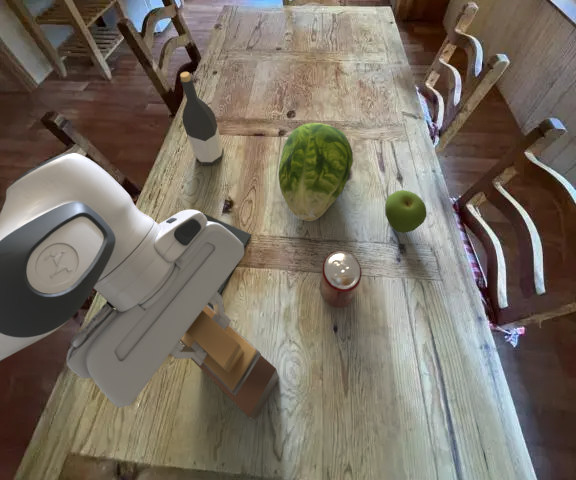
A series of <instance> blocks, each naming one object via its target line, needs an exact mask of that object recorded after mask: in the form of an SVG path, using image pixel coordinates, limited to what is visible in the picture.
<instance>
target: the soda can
mask: <svg viewBox="0 0 576 480" xmlns="http://www.w3.org/2000/svg"><path fill="white" fill-rule="evenodd" d="M321 268H322V269H321V276H320V277H321V278H320V285H319V290H320V295H321V297H322V299H323V301H325V303H326V304H327V305H328V306H330V307H331V308H334V309H345V308H347V307H348V306H350V305H351V304H352V302H353V301H354V299H355V297H356V294H357V291H358V288H359V286H360V283H361V280H362V274H363V272H362V266H361V264H360V261H359V260H358V259H357V257H356V256H355V255H354V254H353V253H350V252H349V251H346V250H343V249H342V250H339V249H338V250H334V251H332V252H330V253H329V254H327V255H326V257H325V258H324V259H323V263H322V267H321Z"/></svg>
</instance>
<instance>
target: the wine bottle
mask: <svg viewBox="0 0 576 480" xmlns="http://www.w3.org/2000/svg"><path fill="white" fill-rule="evenodd" d="M179 77H180V83H181V85H182V89H183V92H184V94H185V95H184V96H185V98H186V102H185V104H184V108H183V112H182V125H183V127H184V131H185V133H186V136H187V138H188V141H189V144H190V146H191V149H192V153H193V155H194V157H195V159H196V160H197V161H198V162H199V164H200V165H202V166H214V165H215V164H216V163H218V162H220V161H221V160H222V159H223V155H224V145H223V142H222V138H221V133H220V130H219V126H218V122H217V118H216V114H215V113H214V111H213V110H212V107H210V106H209V105H208V104H207V103H206V102H205V101H204V100H203V99H201V98H200V97H198V94H197V91H196V88H195V87H196V86H195V84H194V81H193V77H192V76H191V74H190V72H188V71H183V72H181V73H180V75H179Z"/></svg>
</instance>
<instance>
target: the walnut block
mask: <svg viewBox="0 0 576 480" xmlns="http://www.w3.org/2000/svg"><path fill="white" fill-rule="evenodd" d="M190 360H191V361H193V362H194V363H195V365H196V366H197V367H198V368H199V369H200V370H202V372H203V373H204V374H205V375H206V376H207V377H208V378H209V379H210V380H211V381H212V382H213V383H214V384H215V385H216V386H217V388H219V389H220V390H221V391H222V392H223V393H224V394H225V395H226V396H227V397H228V398H229V399H230V400H231V401H232V402H233V403H234V404H235V405H236V406H237V407H238V409H240V410H241V411H242V412H243V413H244V414H245V416H247V417H248V418H249V419H252V420H253V421H256V422H257V420H258V419H259V416H260V414H261V413H262V411H263V409H264V407H265V405H266V403H268V400H269V398H270V396H271V395H272V393H273V391H274V389H275V387H276V386H277V384H278V382H279V380H280V375H279V373H278V369H277V368H276V367H275V365H273V364H272V363H270V361H268V359H266V358H265V357H264V356H263V355H262V354H261V355H260V357H259V359H258V360H257V362H256V364H255V365H254V367H253V369H252V370H251V372H250V374H249V375H248V377H247V379H246V380H245V382H244V383H243V385H242V387H241V388H240V390H239V392H238V393H237V395H236V396H235V395H233V394H232V393H231V392H230V391H229V390H228V389H227V388H226V387H225V386H224V385H223V384H222V383H221V382H220V381H219V380H218V379H217V378H216V377H215V376H214V375H213V374H212V373H211V372H210V371H209V370H208V369H207V368H206V367H205V366H204V365H203V364H201V366H200V365H199V364H198V363H197V362H196V361H195V360H194V359H193V358H191V359H190Z"/></svg>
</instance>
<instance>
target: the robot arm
mask: <svg viewBox="0 0 576 480" xmlns="http://www.w3.org/2000/svg"><path fill="white" fill-rule="evenodd" d="M203 213H204V212H202V213H201V211H200V210H198V209H195V210H194V209H183V210H181V211H179V212H177V213H175V214H173V215H171V216H169V217H168V218H167V219H165V220H163V221H161V222H159V223H157V222H156V221H155V219H153V218H152V217H151V216H149V215H148V214H145V213H143V212H142V211H141V210H140V209H139V208H138V207H137V205H135V203H134V201H133V199H132V196H131V195H130V194H129V193H128V192H127V190H125V188H124V187H123V185H121V184H119V182H118V181H117V180H115V178H113V177H112V176H111V174H109V172H107V171H106V170H105V169H104V168H102V167H101V166H100V165H99V164H98V163H96V162H95V161H93V160H91V159H90V158H89V157H86V156H84V155H82V154H80V153H76V152H71V153H63V154H59V155H57V156H54V157H52V158H50V159H48V160H46V161H43V162H42V163H39V165H36V166H35V167H34V168H32V169H29V170H28V171H26V172H25V173H23V174H22V175H20V176H19V177H18V178H16V179H15V180H14V181H13V182H12V183H11V184H10V185H9V186H8V187H7V189H6V190H5V200H4V204H3V205H2V209H1V211H0V362H2V361H3V360H5V359H6V358H8V357H10V356H12V355H13V354H14V355H15V353H16V354H17V353H18V352H20V351H21V350H23V349H25V348H27V347H29V346H31V345H33V344H35V343H37V342H39V341H41V340H42V339H44V338H45V337H48V336H49V335H51V334H53V333H54V332H56V331H57V330H59V329H60V328H61V327H64V325H65V324H67V323H68V322H69V321H70V320H71V319H72V318H73V317H74V316H75V315H76V314H77V313H78V312H79V311H80V309H81V308H82V307H83V305H84V304H85V302H86V301H87V300H88V298H89V296H90V295H91V294H92V291H93V290H95V292H97V293H98V294H99V295H100V296H101V297H102V298H103V299H104V300H105V301H106V302H105V303H104V304H103V305H102V306H101V307H100V308H99V310H98V311H97V312H96V313H95V314H94V315H93V316H92V317H91V319H90V320H89V321H88V323H87V324H86V325H85V326H84V327H83V328H81V329H80V330H79V331H78V332H77V333H76V334H75V335H74V337H72V339H71V341H70V343H71V345H70V347H69V349H68V351H67V353H66V364H67V365H66V366H67V368H69V369H68V370H70V371H72V372H73V373H74V374H75V375H76V376H78V377H79V378H81V379H91V378H92V380H93V381H94V383H95V384H96V386H97V388H98V389H99V390H100V391H101V393H102V394H103V395H104V396H105V397H106V398H107V399H108V401H110V403H112V405H114V406H115V407H116V408H118V409H119V408H125V407H128V406H131V405H132V404H133V403H134V402H135V401H136V399H137V398H138V397H139V395H140V394H141V392H142V391H143V390H144V388H145V387H146V386H147V384H148V383H149V382H150V381H151V379H152V378H153V376H154V375H155V374H156V372H157V371H158V370H159V369H160V367H161V366H162V365H163V363H164V362H165V361H166V359H167V358H168V356H169V355H171V356H172V357H173V358H174V359H178V360H179V359H180V360H181V359H182V360H185V359H186V360H188V359H189V360H192V359H191V358H193V359H194V360H195V361H196V362H197V363H198V364H199V365H200V366H201V364H202V363H203V361H204V360H205V359H206V357H207V356H208V353H207V352H206V351H205V350H204V349H203V348H202V347H201V346H200V345H199V344H198V343H197V342H196V341H195V342H194V343H193V345H192V346H191V347H188V346H185V345H184V344H183V343H182V342H181V341H180V339H181V338H182V337H183V335H184V334H185V333H186V331H187V330H188V329H189V327H190V326H191V325H192V323H193V322H194V321H195V320H196V318H197V317H198V316H199V314H200V313H201V312H202V310H203V309H204V308H205V306H206V305H207V304H208V302H209V303H210V304H212V305H213V308H214V309H213V310H214V312H215V314H214V316H213V317H212V319H213V320H214V321H215V322H216V323H217V324H218V325H219V326H221V327H222V328H223V329H224V330H225V329H226V328H227V327H228V325H229V324H230V325H231V323H232V319H231V318H230V317H229V316H228V315H227V314H226V313H225V307H224V301H223V296H222V294H221V295H220V294H219V293H218V292H217V290H218V289H219V288H220V286H221V285H222V284H223V282H224V281H225V280H226V278H227V277H228V276H229V275H230V273H231V272H232V271H233V272H234V270H235V269H236V267H237V265H238V264H239V263H240V262H241V260H242V259H243V257H244V256H245V249H244V245H243V243H242V242H241V241H240V240H239V239H238V238H237V237H236V236H235V235H234V234H232V233H231V232H230V231H229V230H228V229H226V228H225V227H224V226H222V225H221V224H218V223H215V222H210V221H207V218H206V217H205V215H204V214H205V213H204V214H203ZM233 269H234V270H233ZM233 272H232V273H233Z"/></svg>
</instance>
